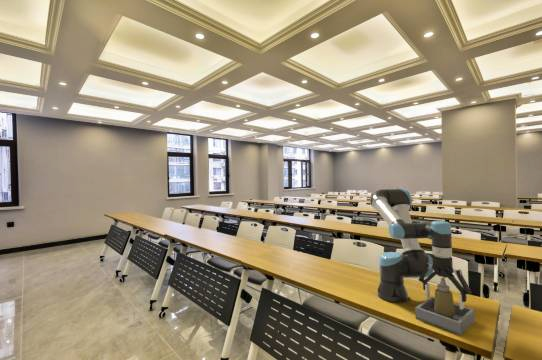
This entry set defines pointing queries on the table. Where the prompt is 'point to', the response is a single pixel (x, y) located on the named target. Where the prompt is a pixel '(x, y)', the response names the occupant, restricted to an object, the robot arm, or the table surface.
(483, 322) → the table surface
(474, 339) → the table surface
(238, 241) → the table surface
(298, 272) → the table surface
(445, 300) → the squeeze bottle
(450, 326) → the bin
